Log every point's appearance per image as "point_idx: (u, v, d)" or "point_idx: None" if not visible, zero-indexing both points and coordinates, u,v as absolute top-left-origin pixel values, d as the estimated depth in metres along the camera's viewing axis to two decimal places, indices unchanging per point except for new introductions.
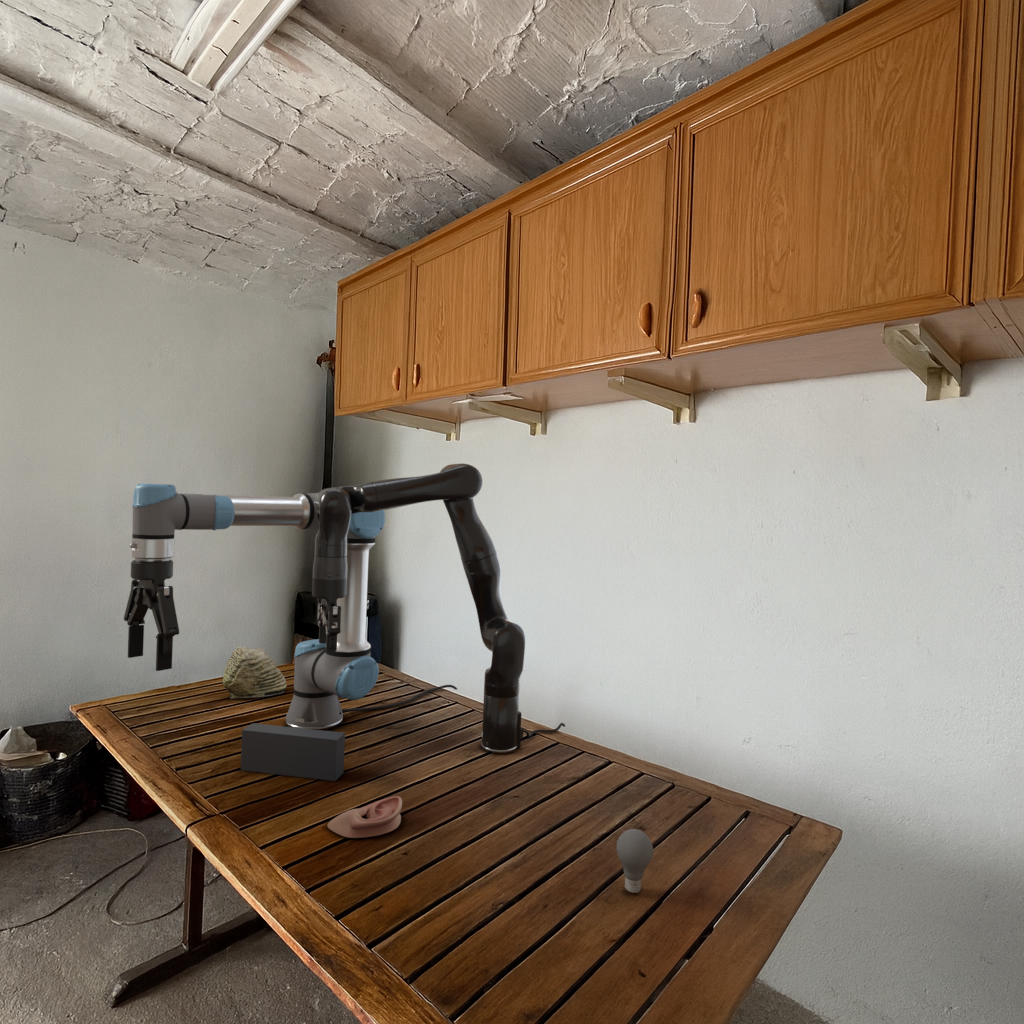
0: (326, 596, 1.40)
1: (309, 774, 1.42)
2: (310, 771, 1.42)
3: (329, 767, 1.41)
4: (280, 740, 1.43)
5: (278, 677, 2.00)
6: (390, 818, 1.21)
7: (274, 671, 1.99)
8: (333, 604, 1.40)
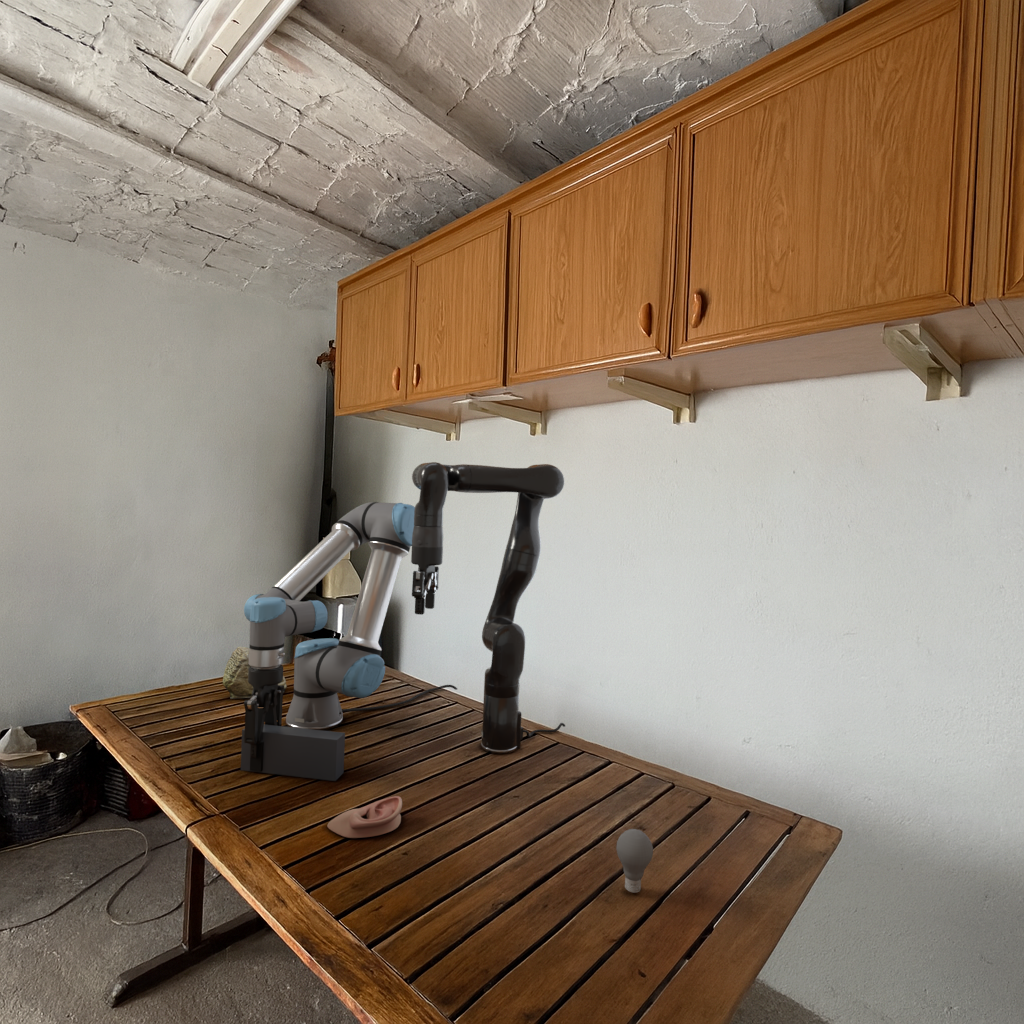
0: (417, 562, 1.50)
1: (309, 774, 1.42)
2: (310, 771, 1.42)
3: (329, 767, 1.41)
4: (280, 740, 1.43)
5: None
6: (390, 818, 1.21)
7: None
8: (423, 570, 1.50)
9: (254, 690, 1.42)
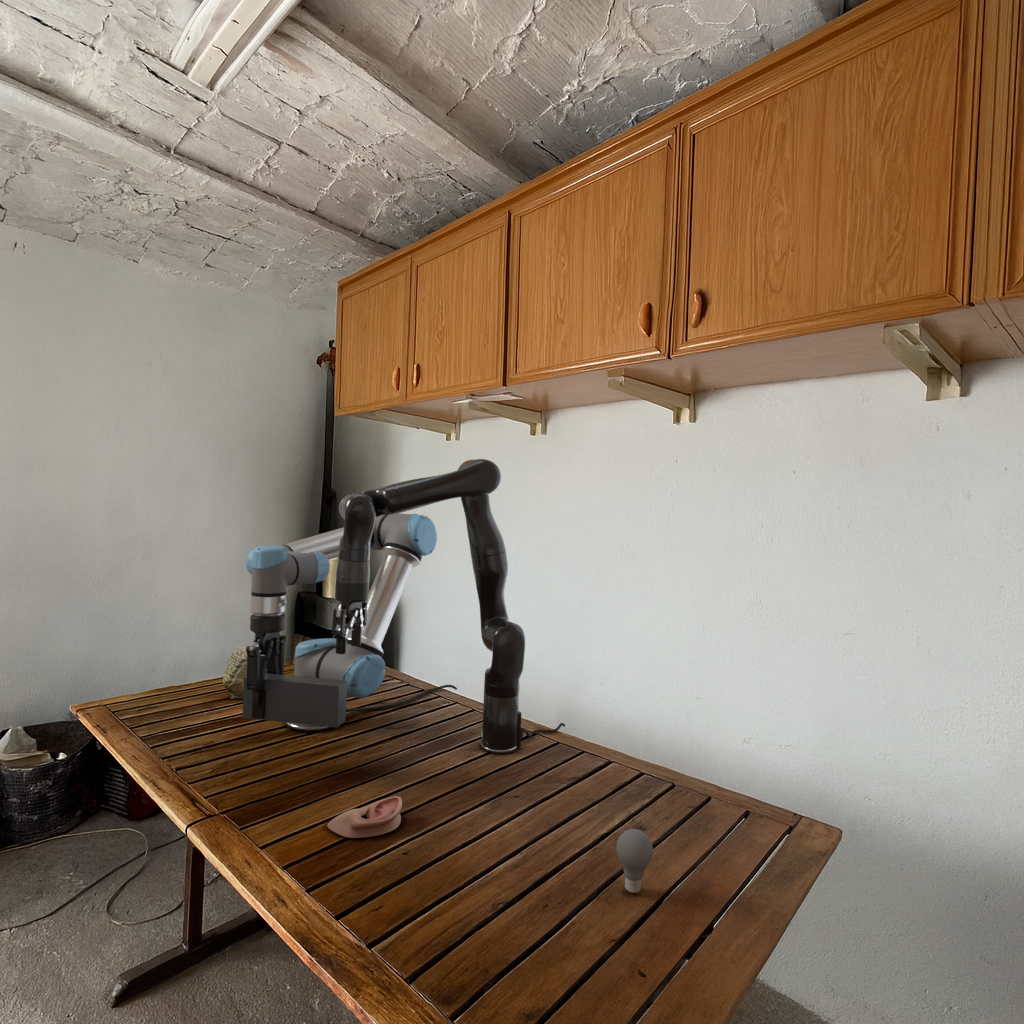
0: (339, 598, 1.42)
1: (311, 721, 1.42)
2: (312, 718, 1.42)
3: (332, 714, 1.41)
4: (282, 687, 1.43)
5: None
6: (390, 818, 1.21)
7: None
8: (345, 607, 1.42)
9: (256, 637, 1.42)
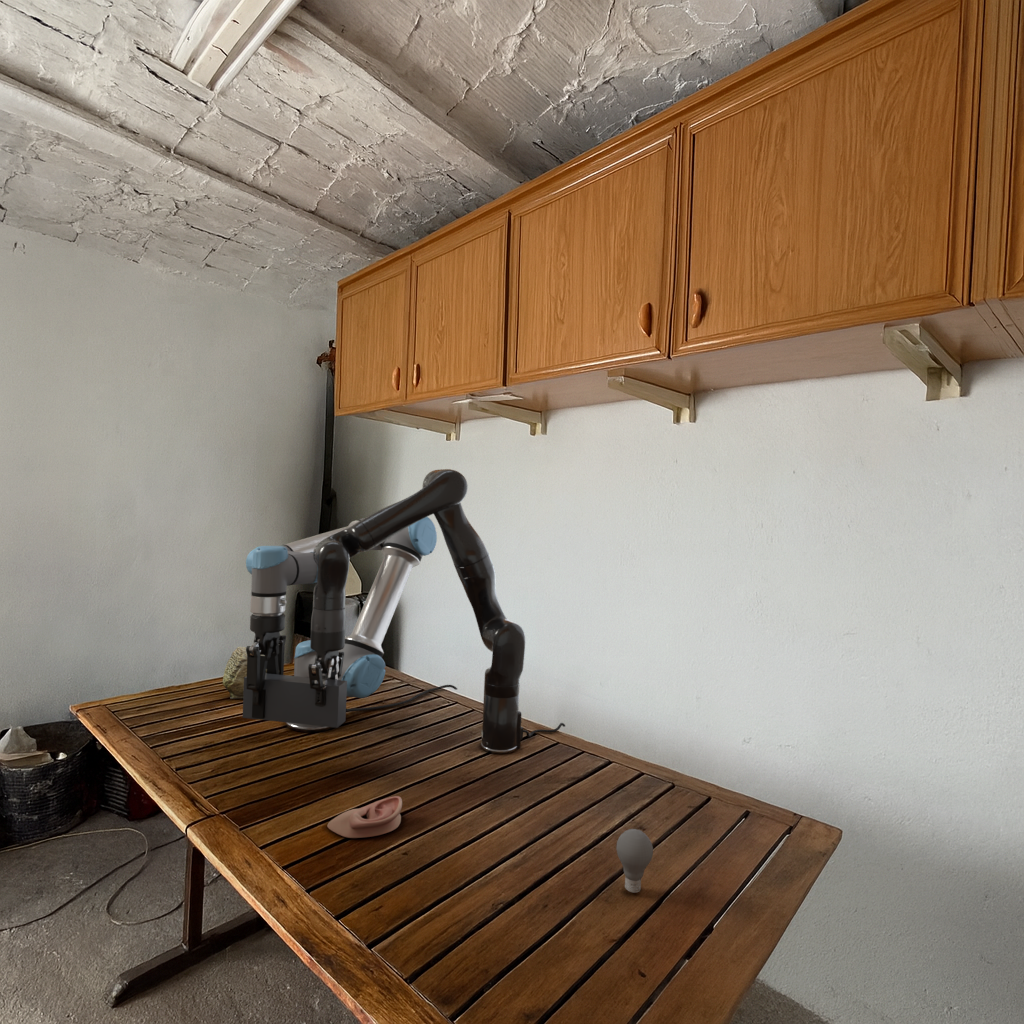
0: (315, 648, 1.40)
1: (311, 721, 1.42)
2: (312, 718, 1.42)
3: (332, 714, 1.41)
4: (282, 687, 1.43)
5: None
6: (390, 818, 1.21)
7: None
8: (321, 657, 1.40)
9: (256, 637, 1.42)
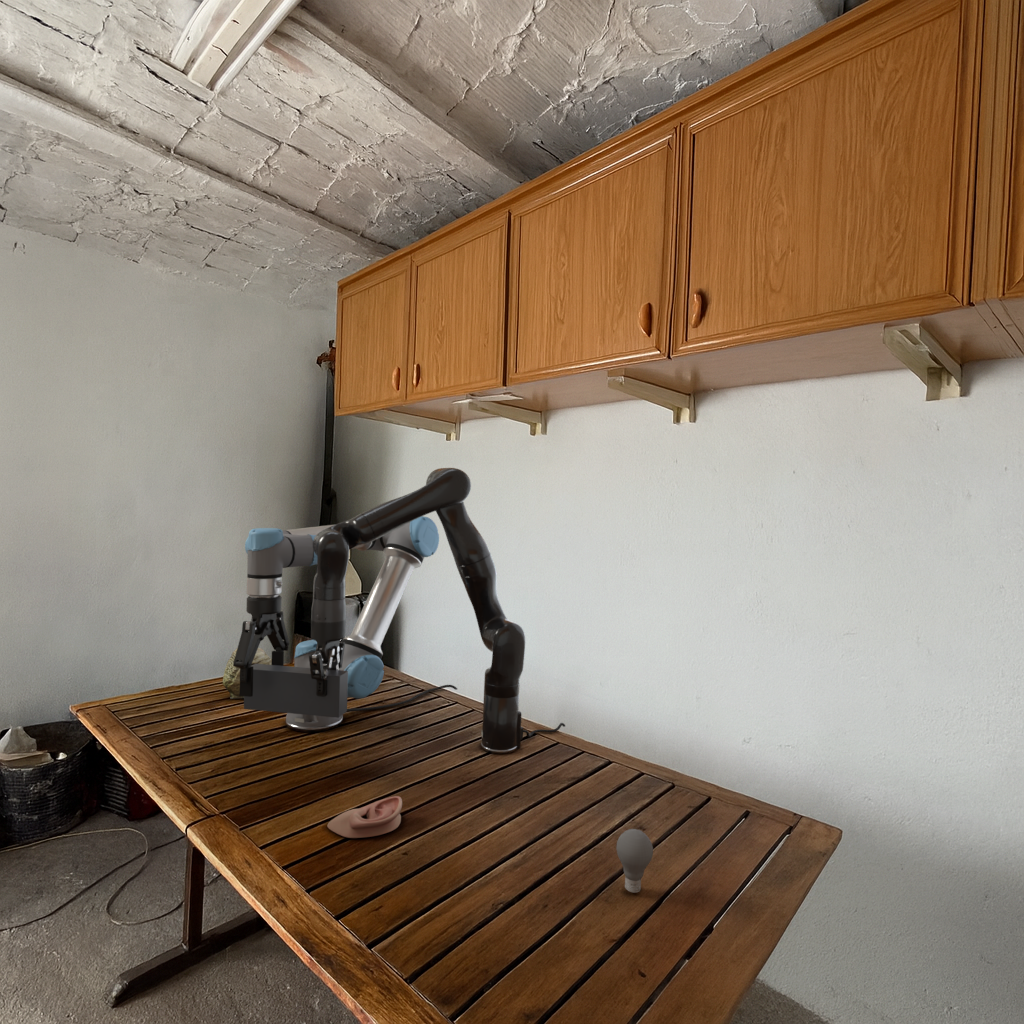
0: (315, 638, 1.40)
1: (313, 711, 1.42)
2: (313, 708, 1.42)
3: (333, 704, 1.41)
4: (283, 678, 1.43)
5: None
6: (390, 818, 1.21)
7: None
8: (321, 647, 1.40)
9: (253, 618, 1.42)
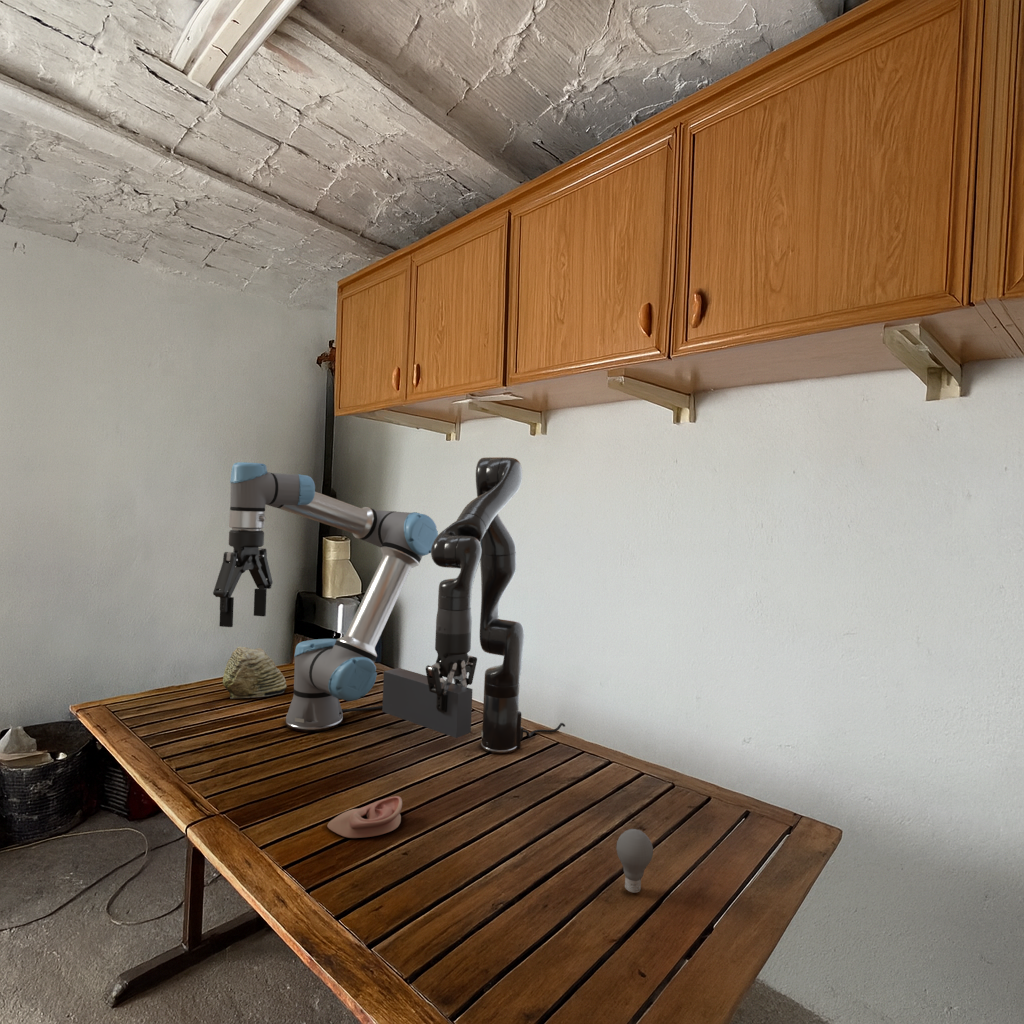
0: (436, 649, 1.32)
1: (435, 726, 1.34)
2: (436, 723, 1.34)
3: (452, 722, 1.31)
4: (412, 686, 1.38)
5: (278, 677, 2.00)
6: (390, 818, 1.21)
7: (274, 671, 1.99)
8: (441, 659, 1.31)
9: (234, 551, 1.43)
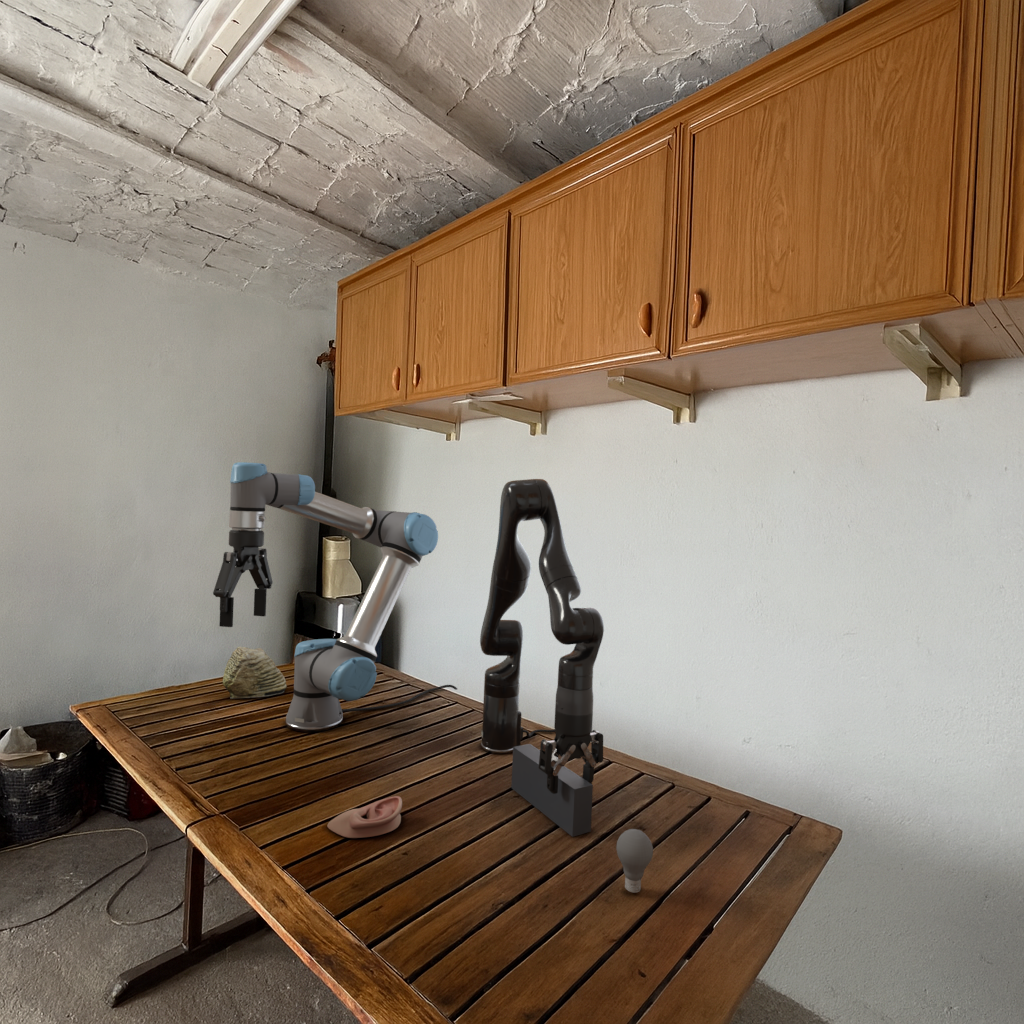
0: (555, 728, 1.26)
1: (554, 818, 1.27)
2: (555, 815, 1.27)
3: (568, 819, 1.23)
4: (536, 769, 1.33)
5: (278, 677, 2.00)
6: (390, 818, 1.21)
7: (274, 671, 1.99)
8: (558, 739, 1.24)
9: (234, 551, 1.43)
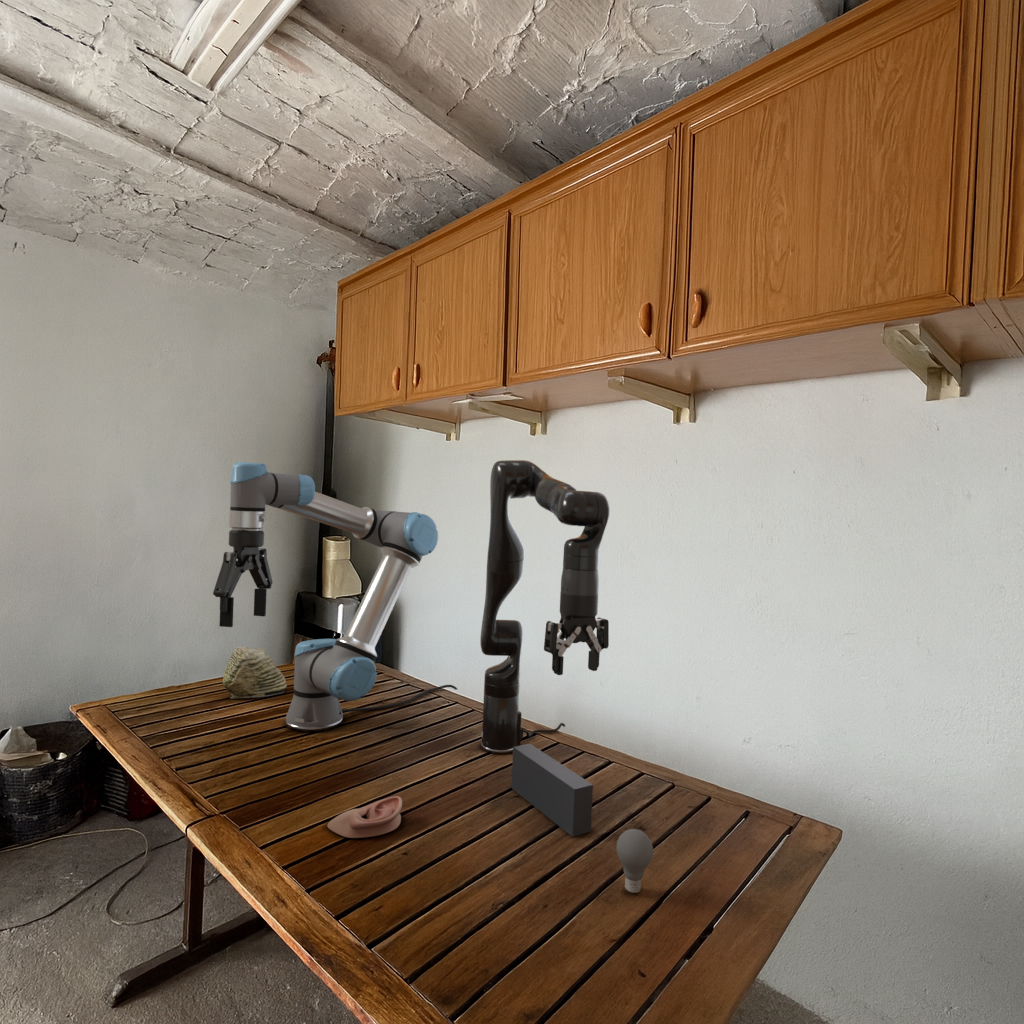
0: (560, 611, 1.25)
1: (554, 818, 1.27)
2: (555, 815, 1.27)
3: (568, 819, 1.23)
4: (536, 769, 1.33)
5: (278, 677, 2.00)
6: (390, 818, 1.21)
7: (274, 671, 1.99)
8: (563, 621, 1.24)
9: (234, 551, 1.43)
